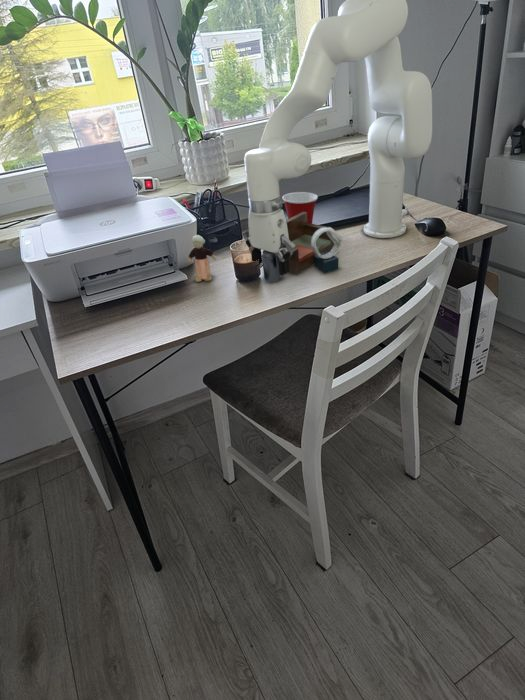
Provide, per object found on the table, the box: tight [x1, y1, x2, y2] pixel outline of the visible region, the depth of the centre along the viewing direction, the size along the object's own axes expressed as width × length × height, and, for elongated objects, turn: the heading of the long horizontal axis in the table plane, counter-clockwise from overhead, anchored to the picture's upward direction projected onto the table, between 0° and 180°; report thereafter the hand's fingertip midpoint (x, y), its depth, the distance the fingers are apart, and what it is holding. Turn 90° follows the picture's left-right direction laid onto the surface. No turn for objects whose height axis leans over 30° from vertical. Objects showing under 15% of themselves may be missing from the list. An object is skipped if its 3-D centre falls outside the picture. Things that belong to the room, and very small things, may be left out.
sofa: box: [279, 212, 335, 276], centre depth 128 cm, size 17×11×10 cm, turn 136°
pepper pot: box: [261, 250, 282, 284], centre depth 121 cm, size 4×4×8 cm
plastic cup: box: [282, 191, 319, 224], centre depth 143 cm, size 11×11×12 cm
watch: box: [311, 226, 343, 274], centre depth 122 cm, size 6×8×11 cm
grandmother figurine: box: [187, 234, 217, 283], centre depth 123 cm, size 8×4×13 cm, turn 99°
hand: (270, 269), depth 121 cm, fingers open, 9 cm apart
